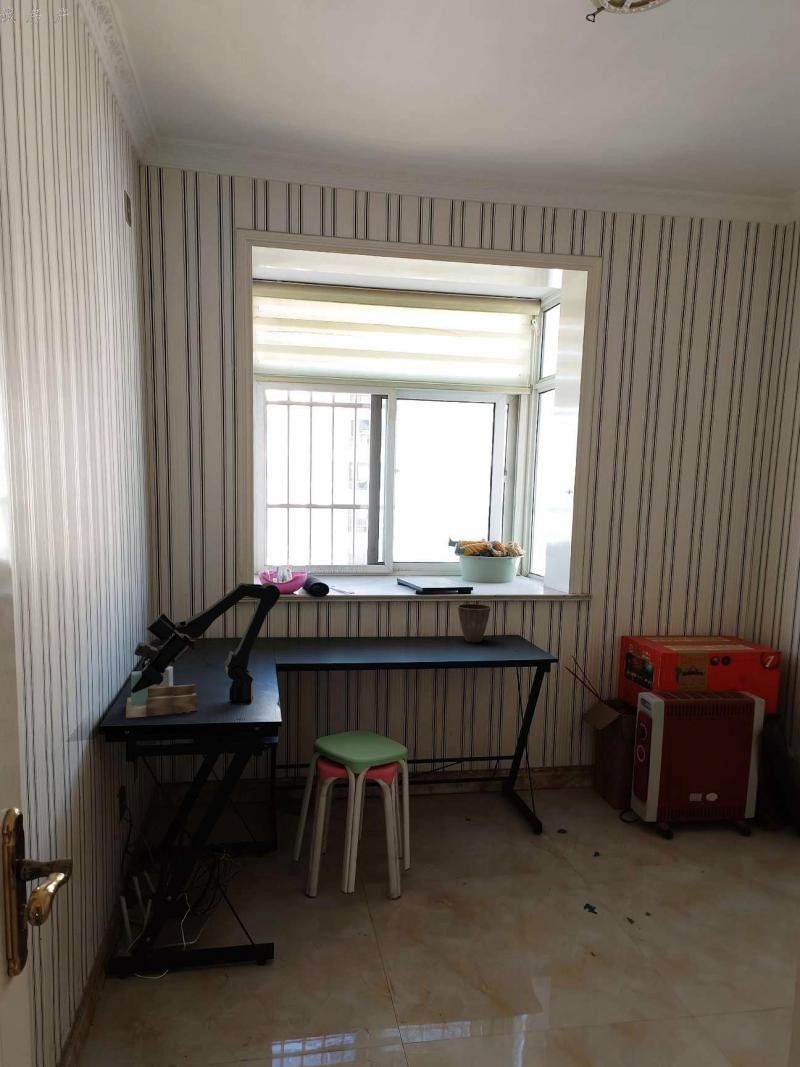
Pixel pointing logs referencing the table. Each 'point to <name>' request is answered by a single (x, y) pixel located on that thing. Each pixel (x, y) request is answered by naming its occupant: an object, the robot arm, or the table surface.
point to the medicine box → (166, 678)
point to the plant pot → (473, 621)
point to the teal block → (141, 695)
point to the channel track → (165, 701)
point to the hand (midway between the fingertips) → (132, 689)
